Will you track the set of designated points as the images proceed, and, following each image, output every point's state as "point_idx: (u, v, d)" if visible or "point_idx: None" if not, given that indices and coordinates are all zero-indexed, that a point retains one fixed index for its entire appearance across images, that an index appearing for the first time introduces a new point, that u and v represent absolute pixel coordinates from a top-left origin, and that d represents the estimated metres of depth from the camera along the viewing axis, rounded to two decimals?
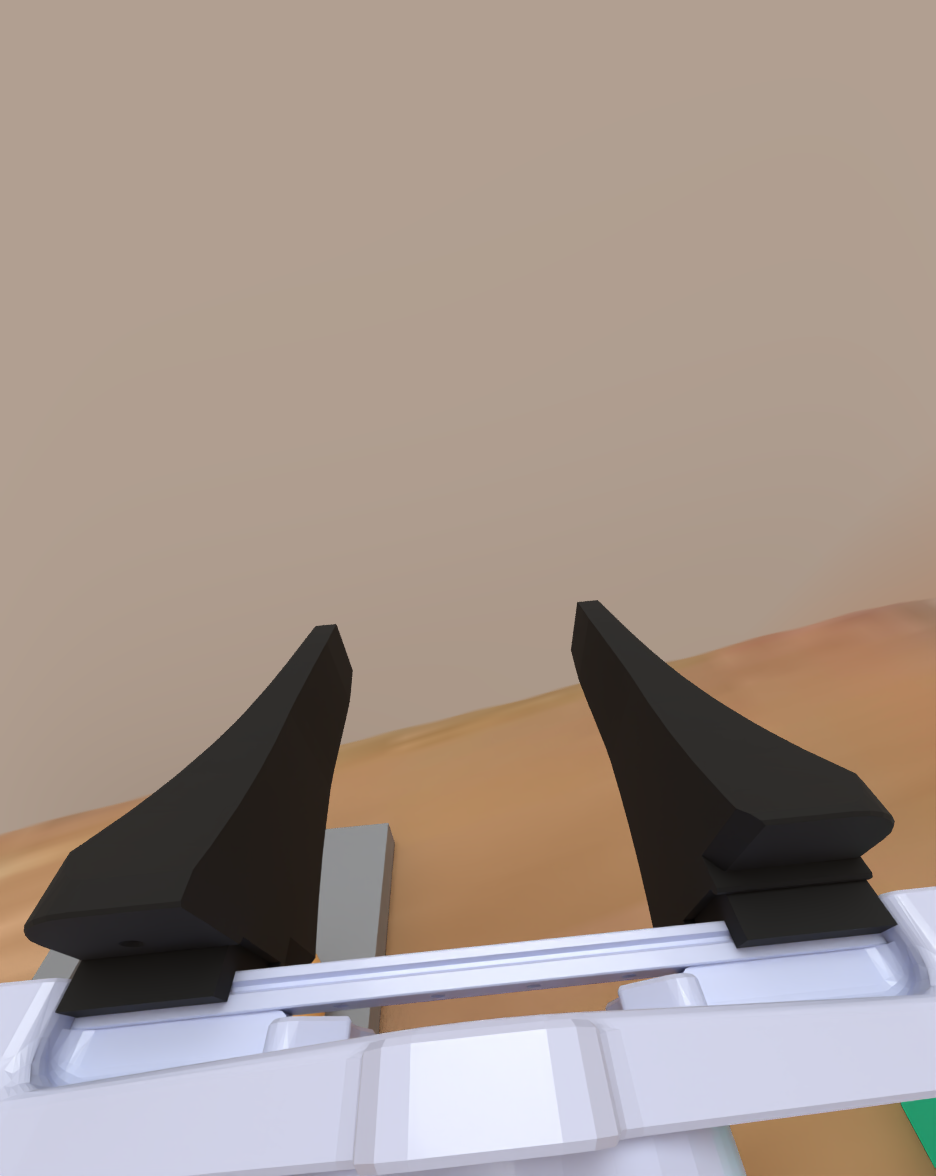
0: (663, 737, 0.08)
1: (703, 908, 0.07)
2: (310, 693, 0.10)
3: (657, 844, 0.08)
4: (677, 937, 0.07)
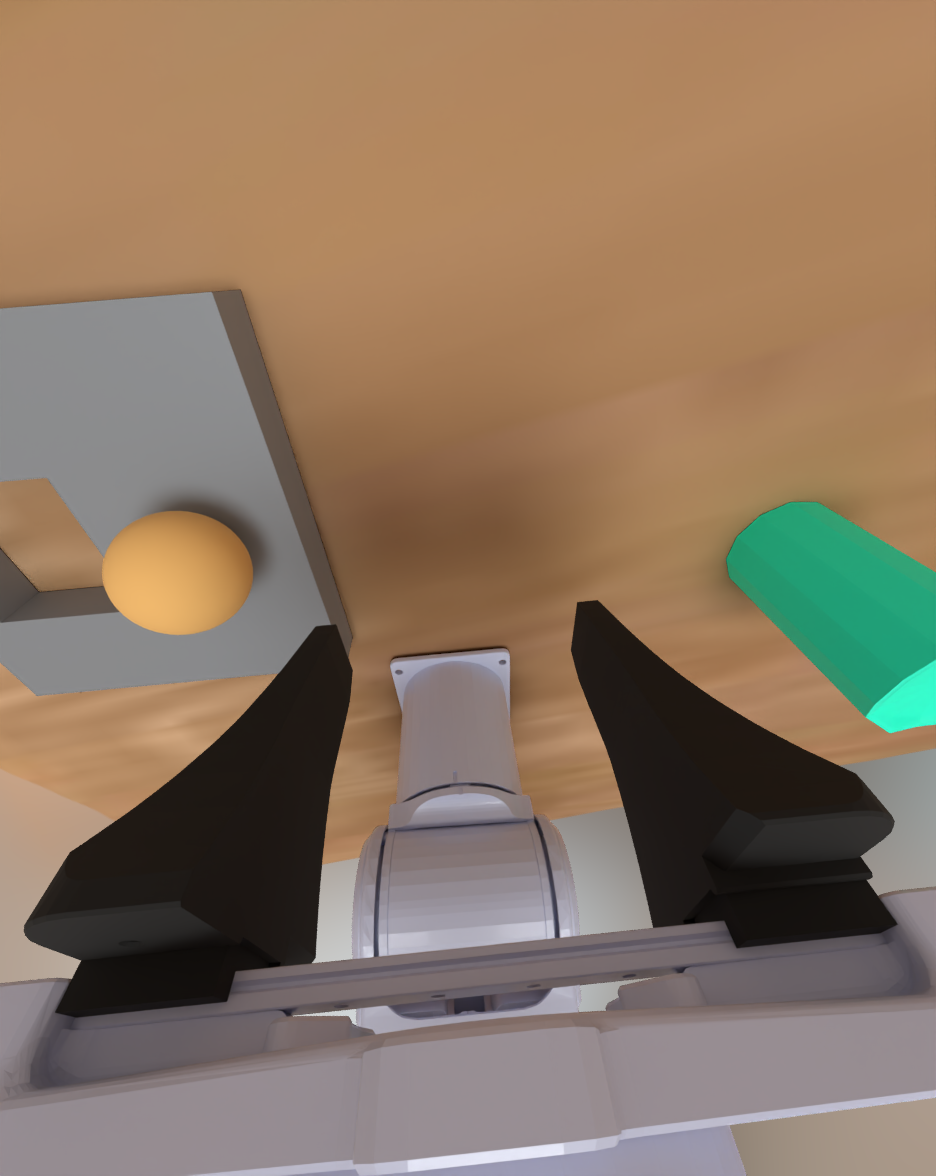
0: (663, 737, 0.08)
1: (703, 908, 0.07)
2: (310, 693, 0.10)
3: (657, 843, 0.08)
4: (677, 937, 0.07)
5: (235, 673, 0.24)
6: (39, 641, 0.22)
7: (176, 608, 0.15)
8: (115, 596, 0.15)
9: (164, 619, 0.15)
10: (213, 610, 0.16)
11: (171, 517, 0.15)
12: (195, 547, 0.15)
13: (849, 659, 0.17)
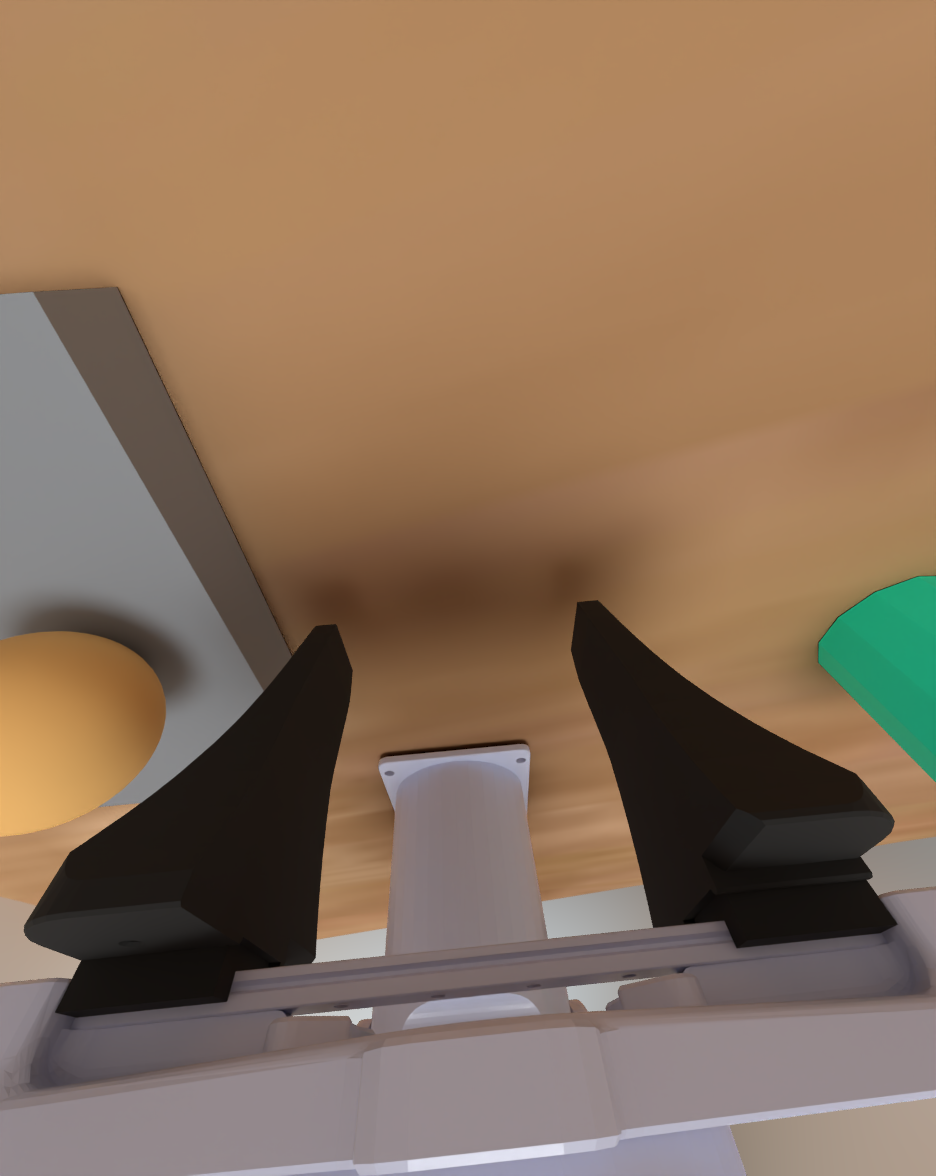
0: (663, 737, 0.08)
1: (703, 908, 0.07)
2: (310, 693, 0.10)
3: (657, 844, 0.08)
4: (677, 937, 0.07)
5: None
6: None
7: (9, 816, 0.09)
8: None
9: None
10: (85, 800, 0.10)
11: (8, 658, 0.10)
12: (42, 712, 0.09)
13: None
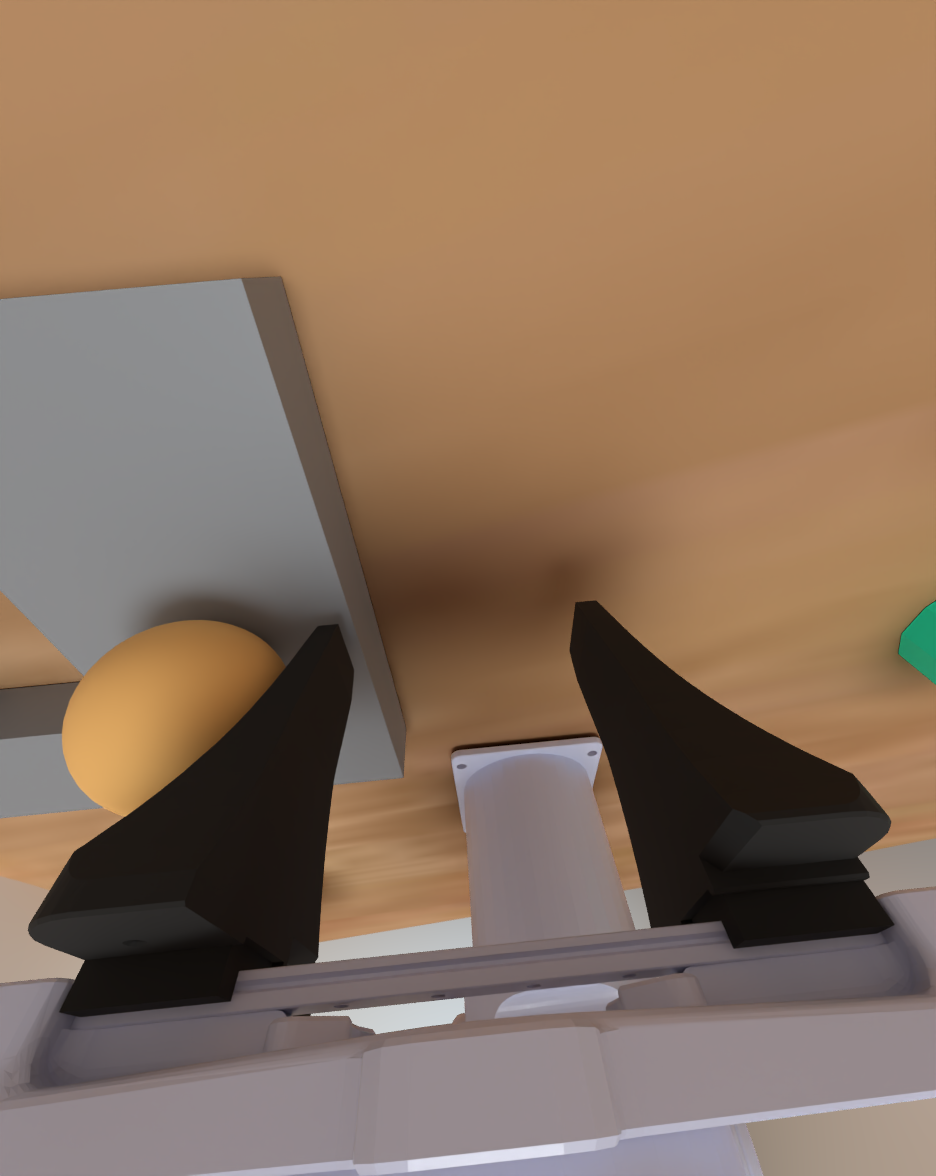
0: (660, 737, 0.08)
1: (700, 908, 0.07)
2: (312, 693, 0.10)
3: (655, 844, 0.08)
4: (677, 937, 0.07)
5: None
6: None
7: None
8: (82, 786, 0.09)
9: None
10: None
11: (173, 645, 0.10)
12: (212, 698, 0.09)
13: None
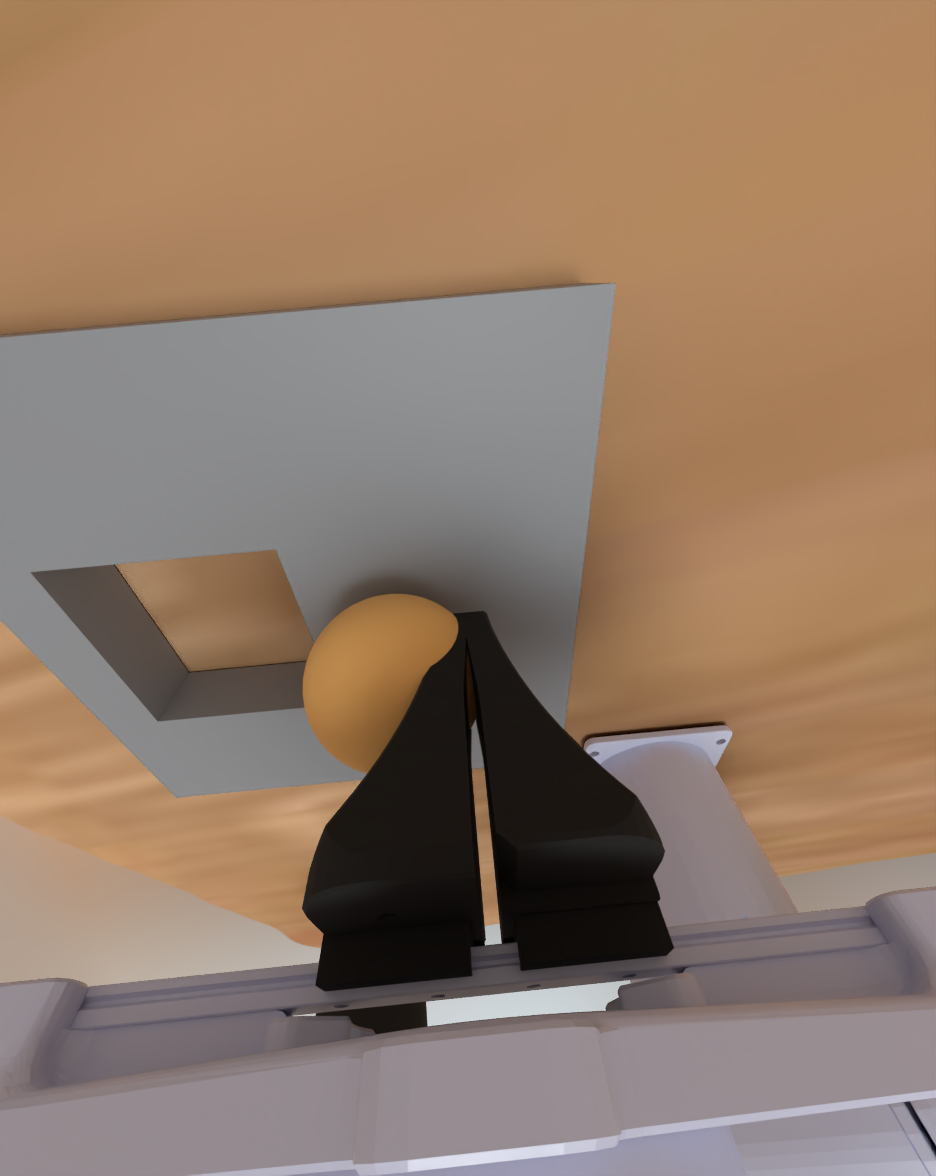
0: None
1: (513, 928, 0.07)
2: (465, 678, 0.10)
3: (494, 860, 0.08)
4: (677, 937, 0.07)
5: None
6: (198, 740, 0.17)
7: (344, 751, 0.10)
8: None
9: (330, 751, 0.10)
10: None
11: (404, 618, 0.10)
12: (403, 683, 0.09)
13: None
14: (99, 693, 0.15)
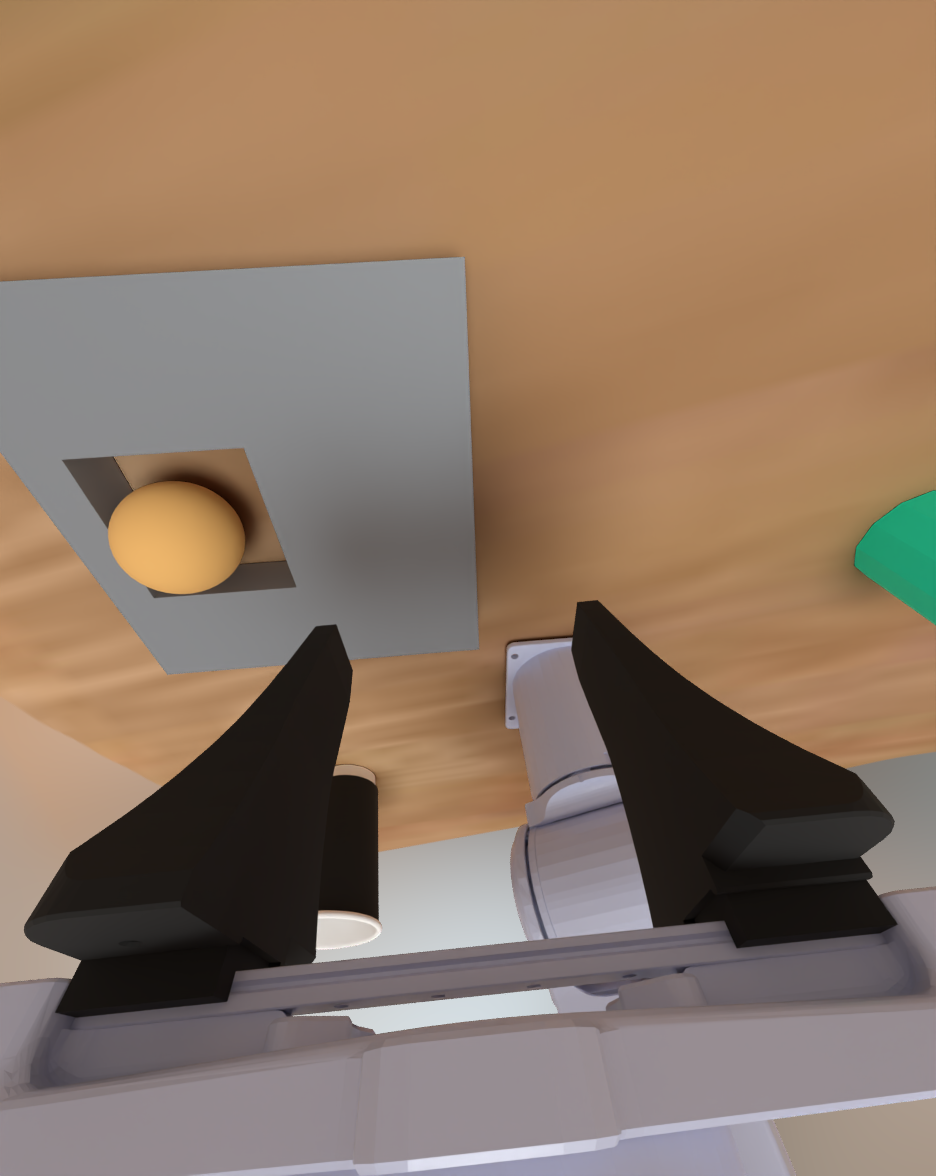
0: (663, 738, 0.08)
1: (703, 908, 0.07)
2: (310, 693, 0.10)
3: (657, 843, 0.08)
4: (677, 937, 0.07)
5: (369, 654, 0.24)
6: (186, 618, 0.21)
7: None
8: (227, 511, 0.18)
9: None
10: None
11: None
12: None
13: None
14: (108, 569, 0.19)
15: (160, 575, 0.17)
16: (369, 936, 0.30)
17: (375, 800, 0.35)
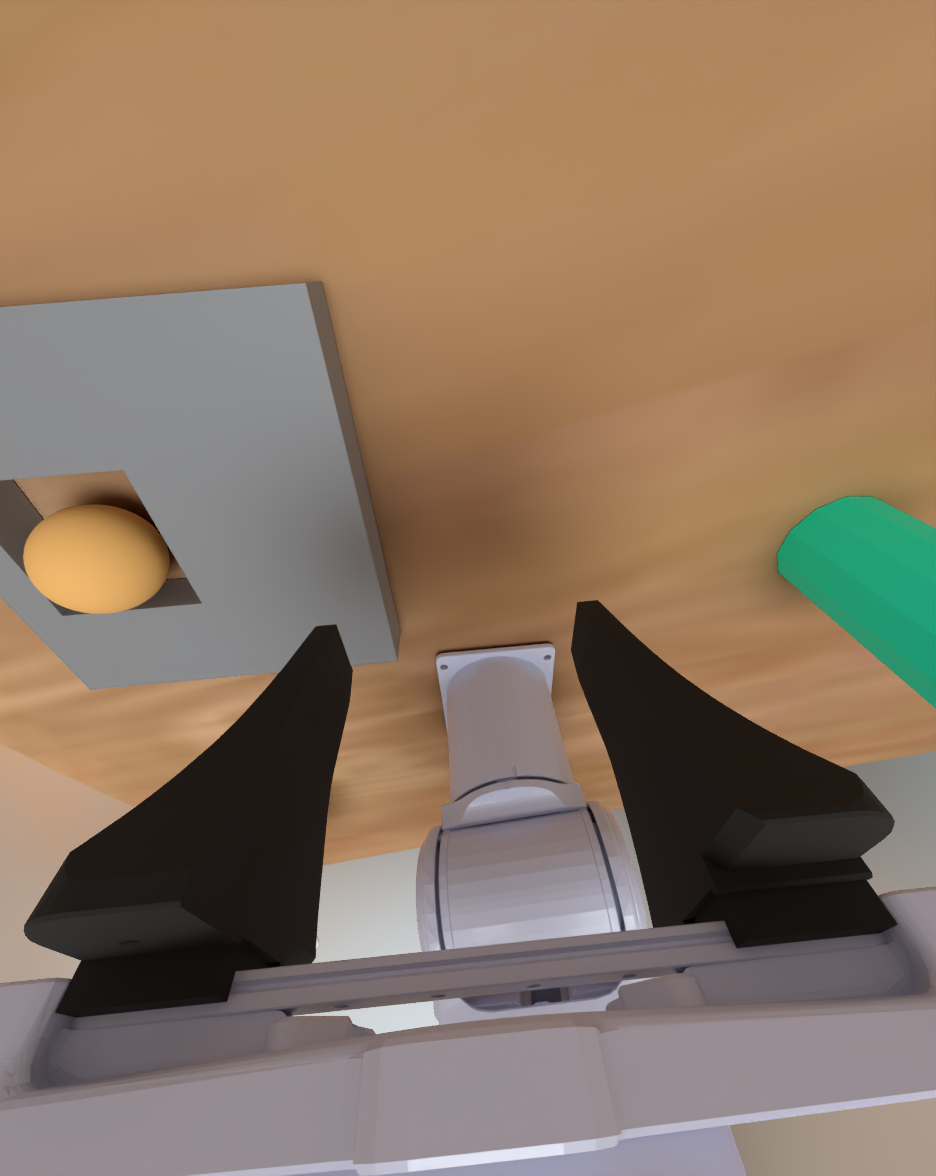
0: (663, 737, 0.08)
1: (703, 908, 0.07)
2: (310, 693, 0.10)
3: (657, 844, 0.08)
4: (677, 937, 0.07)
5: None
6: (98, 634, 0.22)
7: None
8: (147, 524, 0.19)
9: None
10: None
11: None
12: None
13: (922, 651, 0.17)
14: (12, 589, 0.20)
15: (102, 595, 0.18)
16: None
17: None
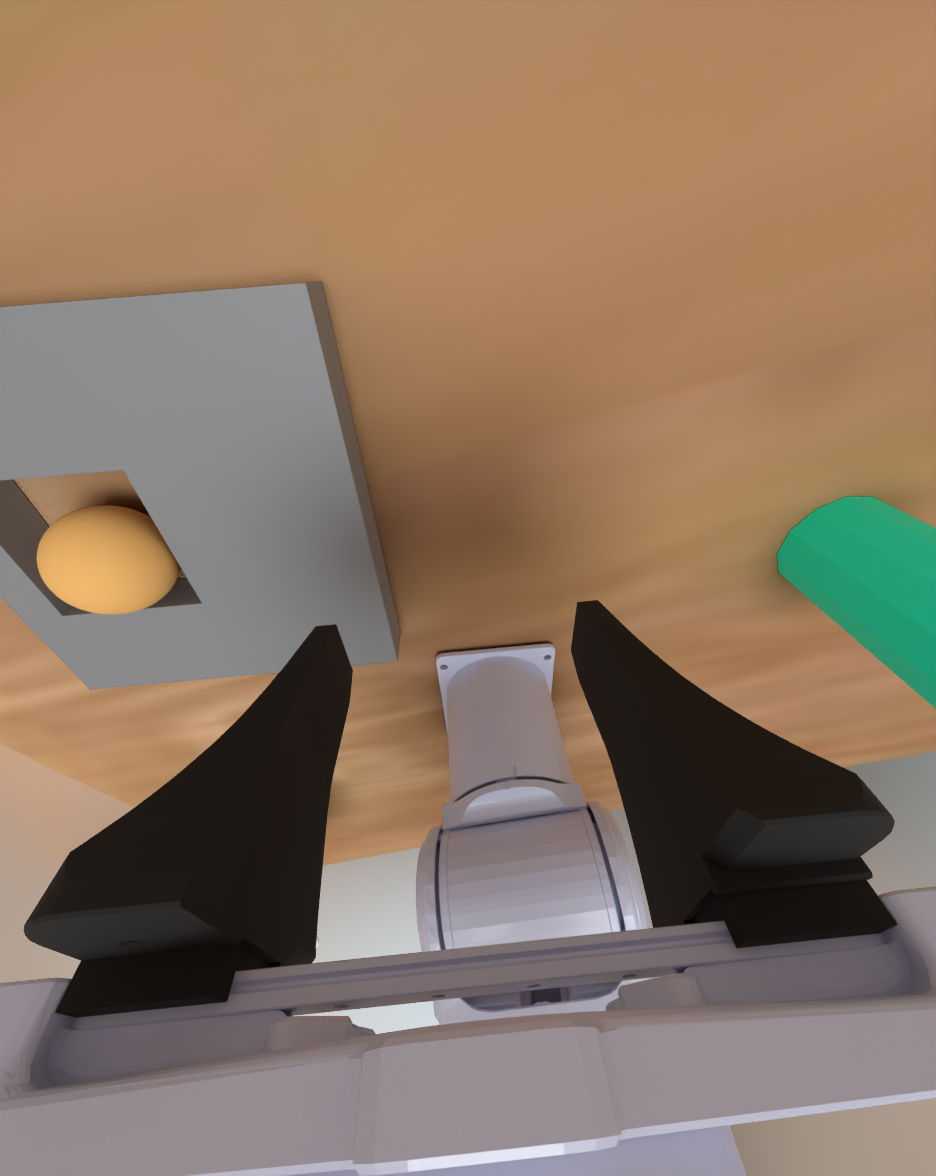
0: (663, 737, 0.08)
1: (703, 908, 0.07)
2: (310, 693, 0.10)
3: (657, 844, 0.08)
4: (677, 937, 0.07)
5: None
6: (98, 634, 0.22)
7: None
8: None
9: None
10: None
11: (56, 521, 0.17)
12: None
13: (922, 651, 0.17)
14: (12, 589, 0.20)
15: (128, 592, 0.18)
16: None
17: None
